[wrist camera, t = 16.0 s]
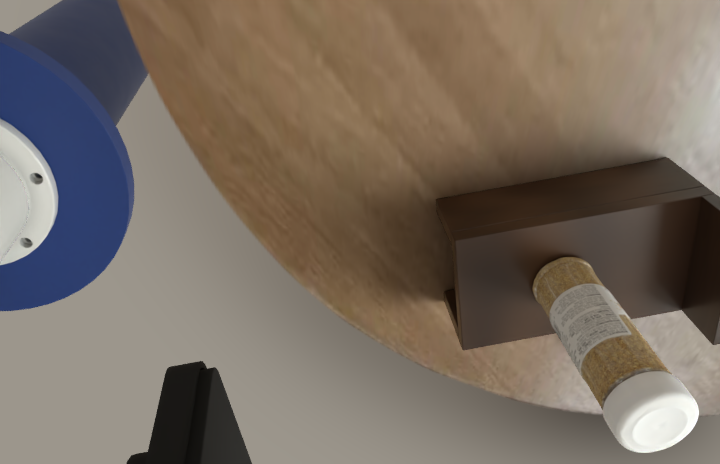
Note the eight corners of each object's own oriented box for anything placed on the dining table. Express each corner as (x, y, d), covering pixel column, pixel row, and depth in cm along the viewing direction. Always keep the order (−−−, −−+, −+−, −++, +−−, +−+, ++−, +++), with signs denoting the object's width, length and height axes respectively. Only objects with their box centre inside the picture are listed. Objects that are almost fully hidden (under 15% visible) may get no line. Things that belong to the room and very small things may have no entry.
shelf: (444, 302, 51) (477, 389, 43) (435, 199, 46) (470, 275, 38) (653, 264, 52) (726, 343, 43) (667, 157, 47) (754, 223, 38)
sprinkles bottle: (595, 293, 45) (703, 441, 33) (535, 313, 45) (621, 466, 34) (588, 244, 42) (701, 385, 31) (524, 265, 43) (614, 412, 31)
